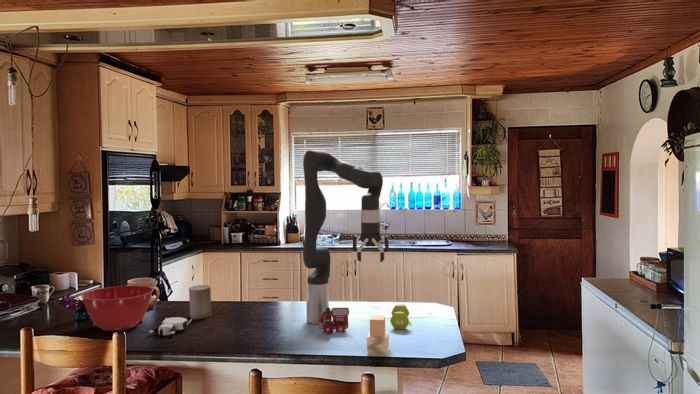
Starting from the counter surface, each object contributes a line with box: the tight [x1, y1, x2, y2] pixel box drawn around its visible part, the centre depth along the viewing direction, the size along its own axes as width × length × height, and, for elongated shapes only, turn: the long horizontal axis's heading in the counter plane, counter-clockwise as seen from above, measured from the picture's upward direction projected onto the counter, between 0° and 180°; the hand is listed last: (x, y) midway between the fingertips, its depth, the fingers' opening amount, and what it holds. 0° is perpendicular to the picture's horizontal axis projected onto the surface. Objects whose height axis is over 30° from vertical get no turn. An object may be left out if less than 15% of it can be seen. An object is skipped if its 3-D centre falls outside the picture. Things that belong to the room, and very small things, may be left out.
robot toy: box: [148, 316, 193, 336], centre depth 223 cm, size 12×4×15 cm
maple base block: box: [366, 331, 390, 356], centre depth 193 cm, size 7×7×6 cm
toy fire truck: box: [318, 307, 350, 335], centre depth 221 cm, size 7×12×10 cm, turn 86°
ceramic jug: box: [125, 277, 160, 310], centre depth 262 cm, size 18×14×14 cm
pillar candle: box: [188, 284, 213, 320], centre depth 246 cm, size 10×10×15 cm
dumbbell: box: [389, 303, 410, 331], centre depth 230 cm, size 16×8×7 cm, turn 173°
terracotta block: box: [369, 315, 386, 337], centre depth 193 cm, size 5×5×6 cm
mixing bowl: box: [81, 285, 154, 332], centre depth 232 cm, size 28×28×15 cm
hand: (370, 261), depth 213 cm, fingers open, 8 cm apart
